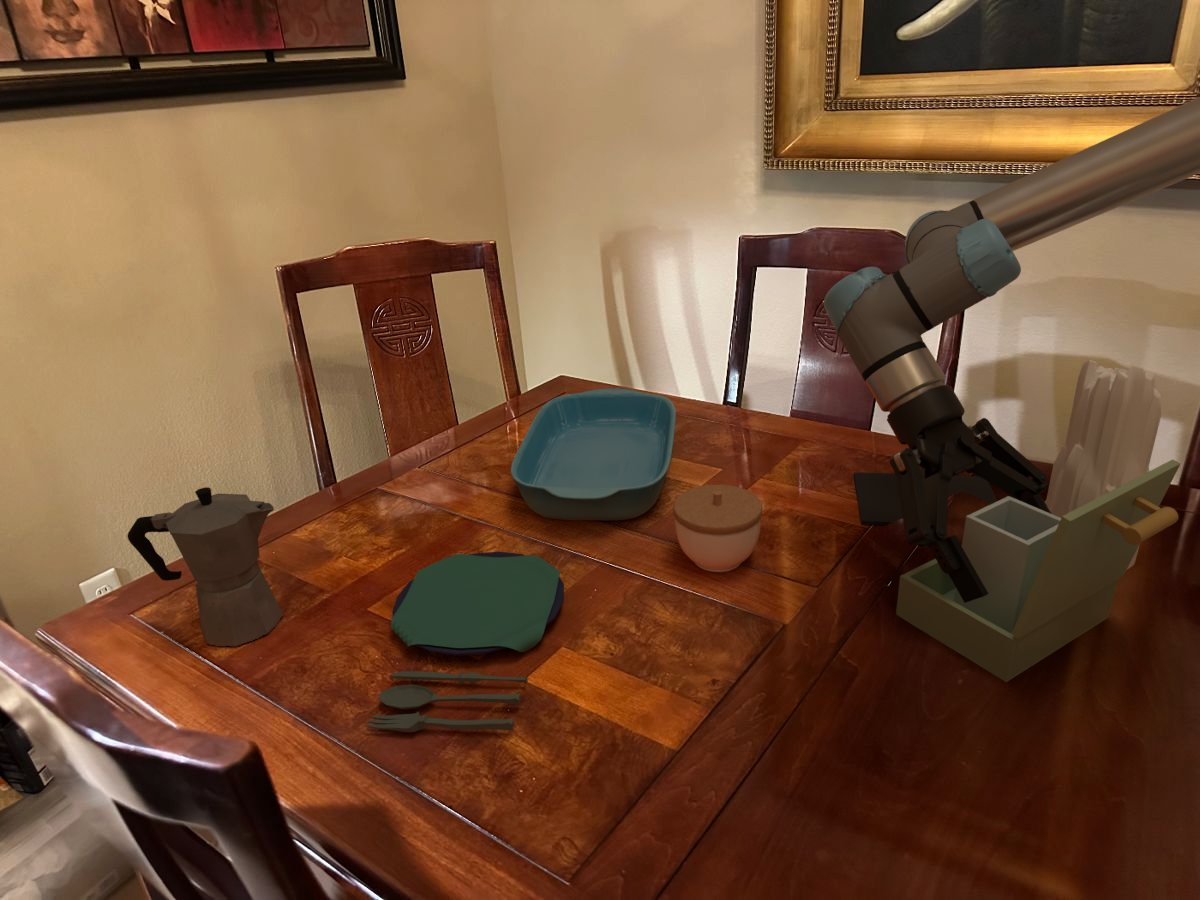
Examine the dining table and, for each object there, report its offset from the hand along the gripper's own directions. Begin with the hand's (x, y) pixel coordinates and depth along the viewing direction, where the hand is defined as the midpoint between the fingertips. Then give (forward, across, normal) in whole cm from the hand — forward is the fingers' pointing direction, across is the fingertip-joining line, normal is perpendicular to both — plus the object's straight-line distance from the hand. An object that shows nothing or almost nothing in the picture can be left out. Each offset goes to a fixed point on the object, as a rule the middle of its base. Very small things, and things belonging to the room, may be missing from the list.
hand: (1019, 575), depth 87 cm
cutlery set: (-18, +48, -28) cm, 59 cm away
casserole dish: (-36, +16, -45) cm, 60 cm away
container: (+3, 0, -5) cm, 6 cm away
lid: (0, 0, +9) cm, 9 cm away
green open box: (+4, 0, -5) cm, 7 cm away
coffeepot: (-32, +70, -41) cm, 88 cm away
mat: (-12, -15, -21) cm, 28 cm away
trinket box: (-16, +17, -25) cm, 34 cm away
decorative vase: (+2, -19, -7) cm, 21 cm away
